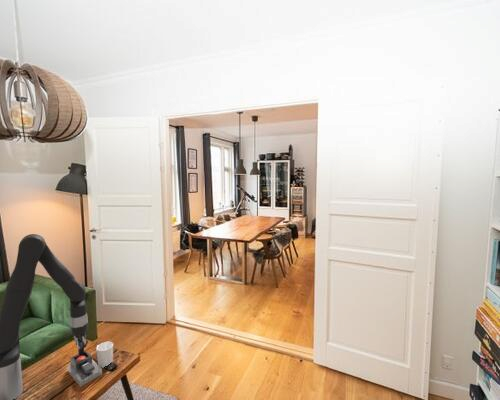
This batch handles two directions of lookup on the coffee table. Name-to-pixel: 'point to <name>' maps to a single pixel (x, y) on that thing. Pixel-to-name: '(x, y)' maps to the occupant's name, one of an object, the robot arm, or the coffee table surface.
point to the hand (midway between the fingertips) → (81, 354)
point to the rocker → (88, 367)
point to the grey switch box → (78, 373)
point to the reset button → (80, 358)
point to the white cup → (104, 353)
